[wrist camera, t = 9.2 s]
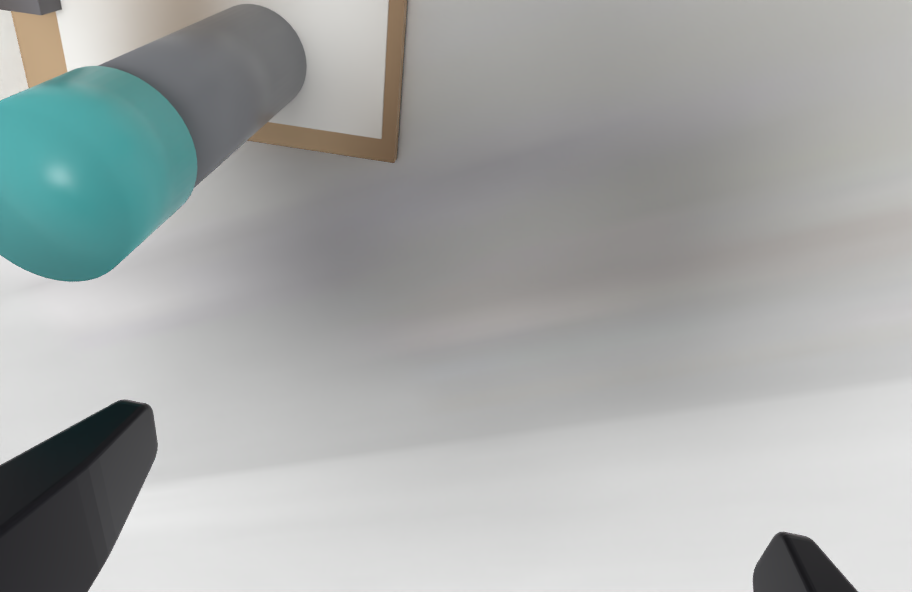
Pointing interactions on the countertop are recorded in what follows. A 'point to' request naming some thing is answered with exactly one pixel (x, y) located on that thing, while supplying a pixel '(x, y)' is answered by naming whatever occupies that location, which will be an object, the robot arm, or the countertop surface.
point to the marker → (135, 138)
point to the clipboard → (300, 3)
